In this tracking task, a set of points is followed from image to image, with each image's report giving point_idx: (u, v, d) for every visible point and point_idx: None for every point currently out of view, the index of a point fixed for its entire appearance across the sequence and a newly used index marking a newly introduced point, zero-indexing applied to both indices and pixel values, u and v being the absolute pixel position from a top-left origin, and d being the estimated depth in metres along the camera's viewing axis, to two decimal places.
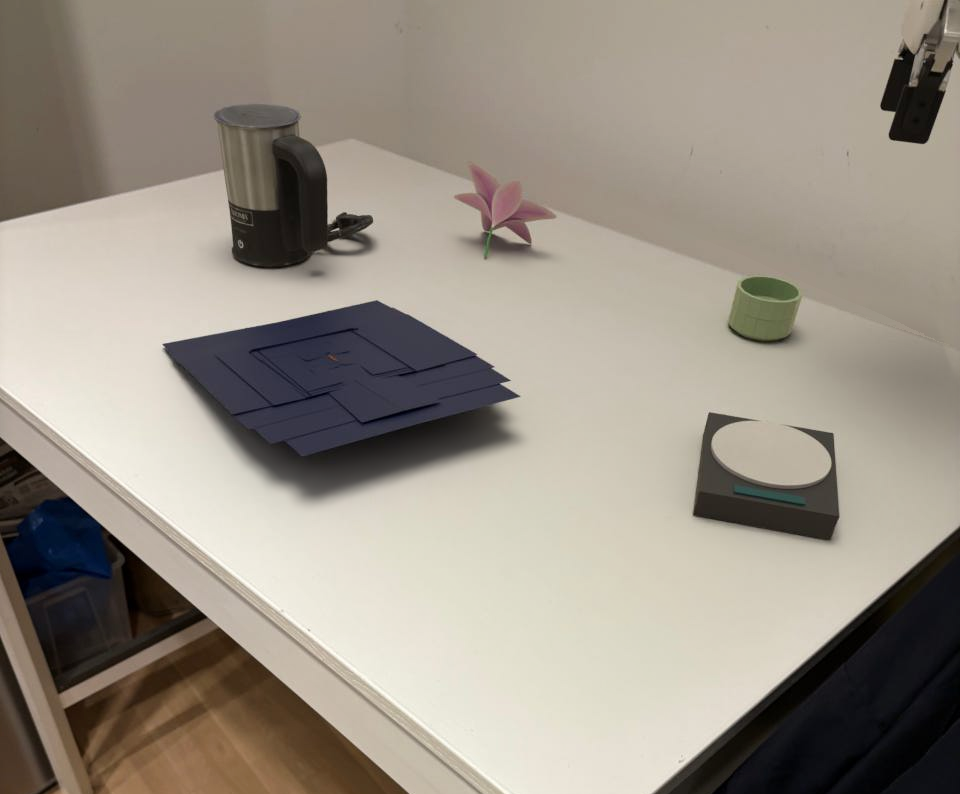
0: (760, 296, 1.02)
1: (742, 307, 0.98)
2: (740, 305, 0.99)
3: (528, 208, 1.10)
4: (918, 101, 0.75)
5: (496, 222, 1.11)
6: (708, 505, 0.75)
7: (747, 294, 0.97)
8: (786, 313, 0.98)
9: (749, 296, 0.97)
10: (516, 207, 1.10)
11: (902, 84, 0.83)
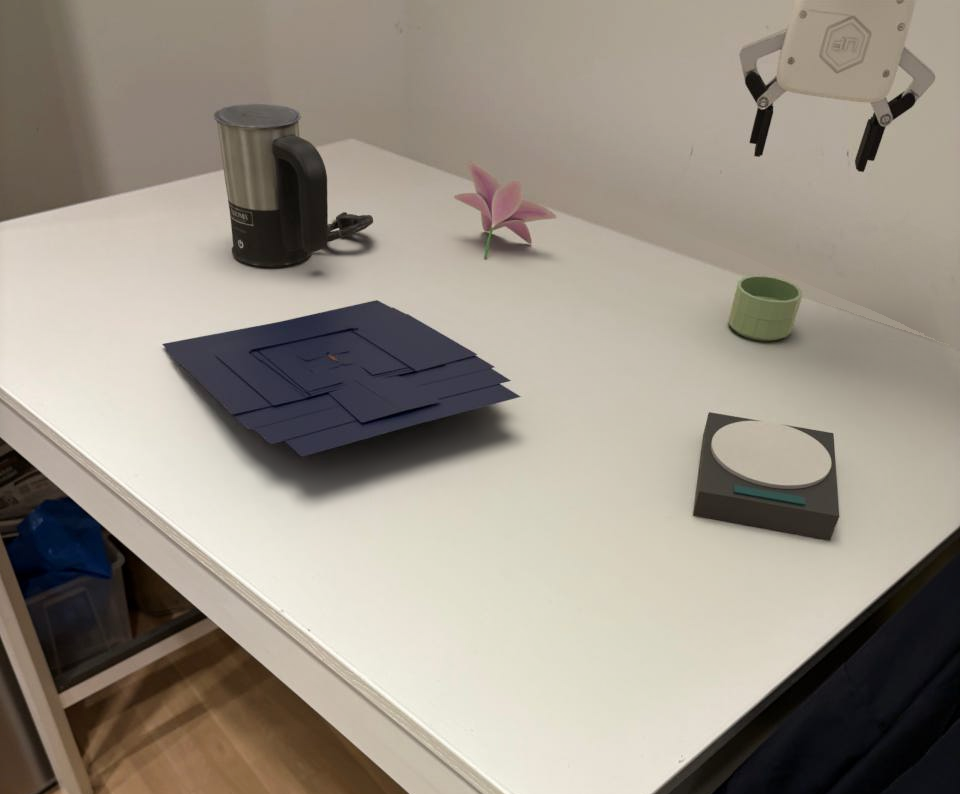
0: (760, 296, 1.02)
1: (742, 307, 0.98)
2: (740, 305, 0.99)
3: (528, 208, 1.10)
4: (756, 114, 0.88)
5: (496, 222, 1.11)
6: (708, 505, 0.75)
7: (747, 294, 0.97)
8: (786, 313, 0.98)
9: (749, 296, 0.97)
10: (516, 207, 1.10)
11: (863, 140, 0.88)
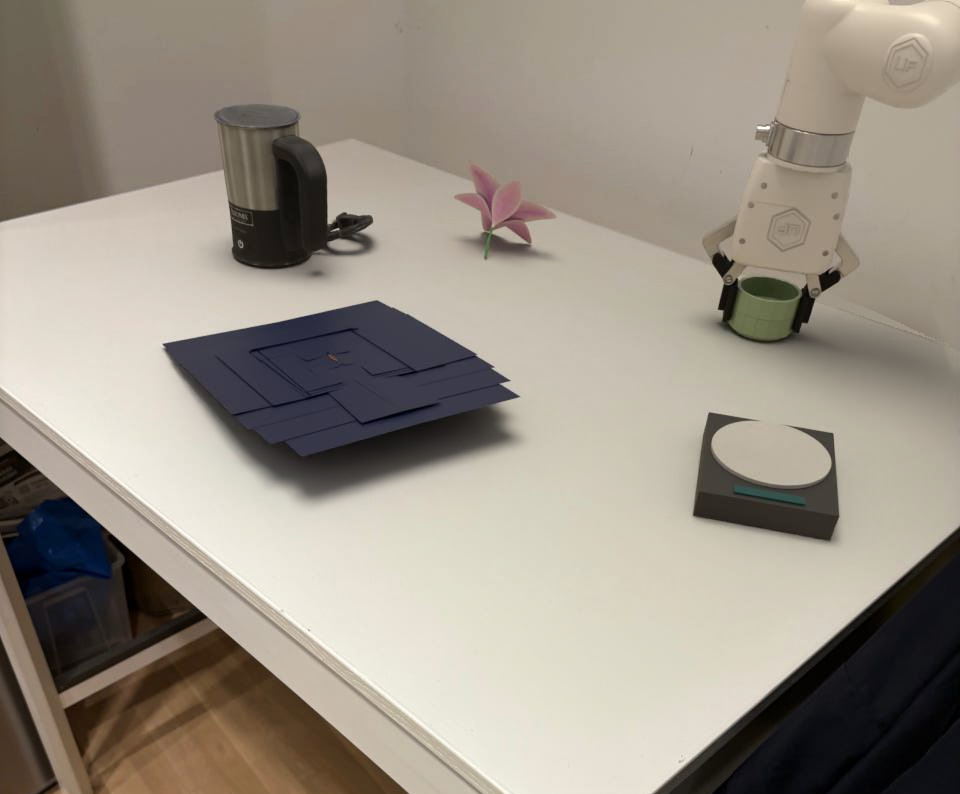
0: (760, 296, 1.02)
1: (742, 307, 0.98)
2: (740, 305, 0.99)
3: (528, 208, 1.10)
4: (723, 286, 1.00)
5: (496, 222, 1.11)
6: (708, 505, 0.75)
7: (747, 294, 0.97)
8: (786, 313, 0.98)
9: (749, 296, 0.97)
10: (516, 207, 1.10)
11: None
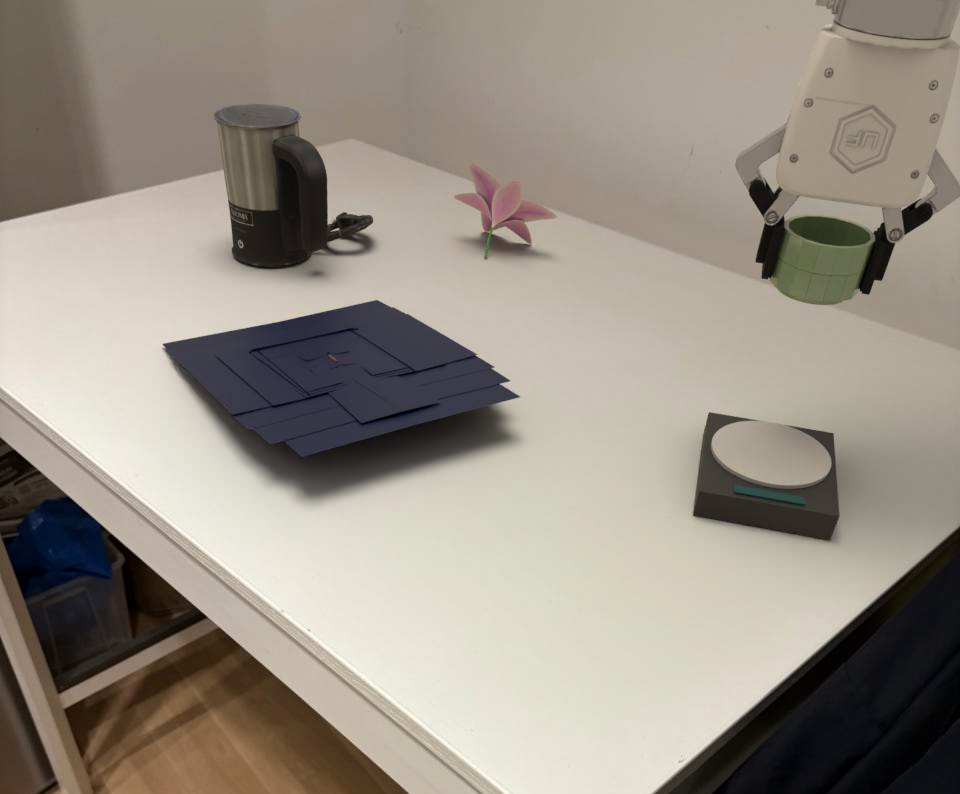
0: None
1: (791, 257, 0.70)
2: (788, 254, 0.70)
3: (528, 208, 1.10)
4: (763, 228, 0.72)
5: (496, 222, 1.11)
6: (708, 505, 0.75)
7: (798, 238, 0.69)
8: (854, 264, 0.69)
9: (802, 240, 0.69)
10: (516, 207, 1.10)
11: None
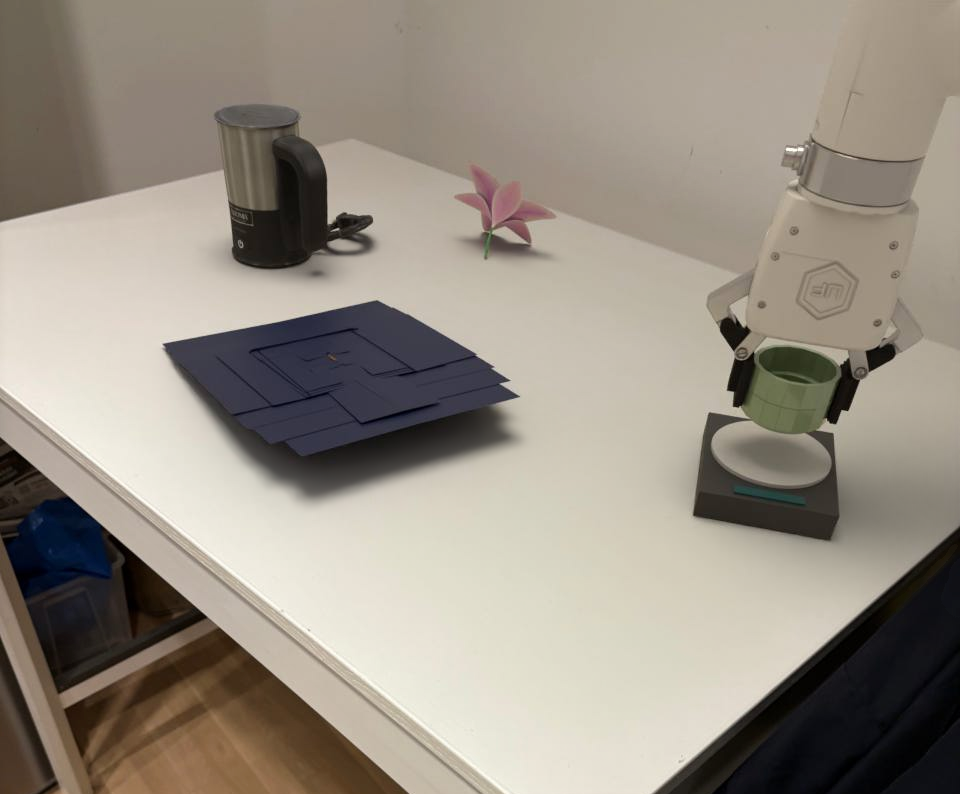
0: (783, 372, 0.76)
1: (760, 390, 0.73)
2: (757, 387, 0.73)
3: (528, 208, 1.10)
4: (734, 360, 0.74)
5: (496, 222, 1.11)
6: (708, 505, 0.75)
7: (767, 374, 0.72)
8: (821, 399, 0.72)
9: (771, 377, 0.71)
10: (516, 207, 1.10)
11: None
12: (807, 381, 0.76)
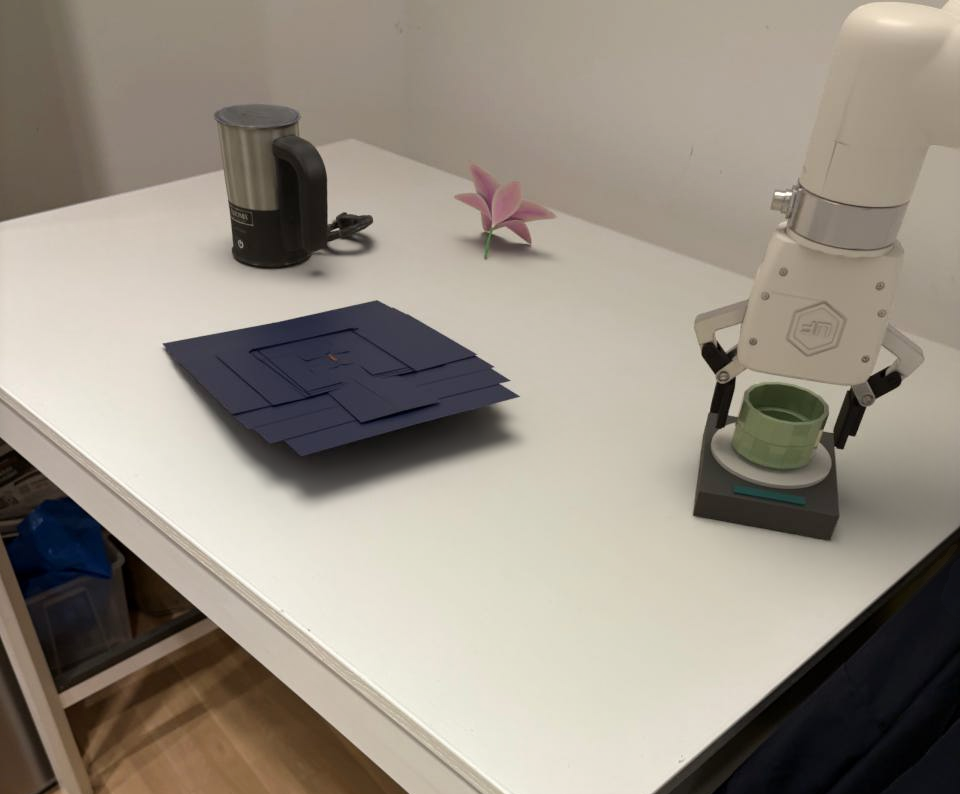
0: (773, 408, 0.79)
1: (750, 428, 0.75)
2: (747, 425, 0.75)
3: (528, 208, 1.10)
4: (716, 382, 0.76)
5: (496, 222, 1.11)
6: (708, 505, 0.75)
7: (757, 412, 0.74)
8: (809, 437, 0.74)
9: (760, 415, 0.74)
10: (516, 207, 1.10)
11: (841, 413, 0.75)
12: (796, 417, 0.78)
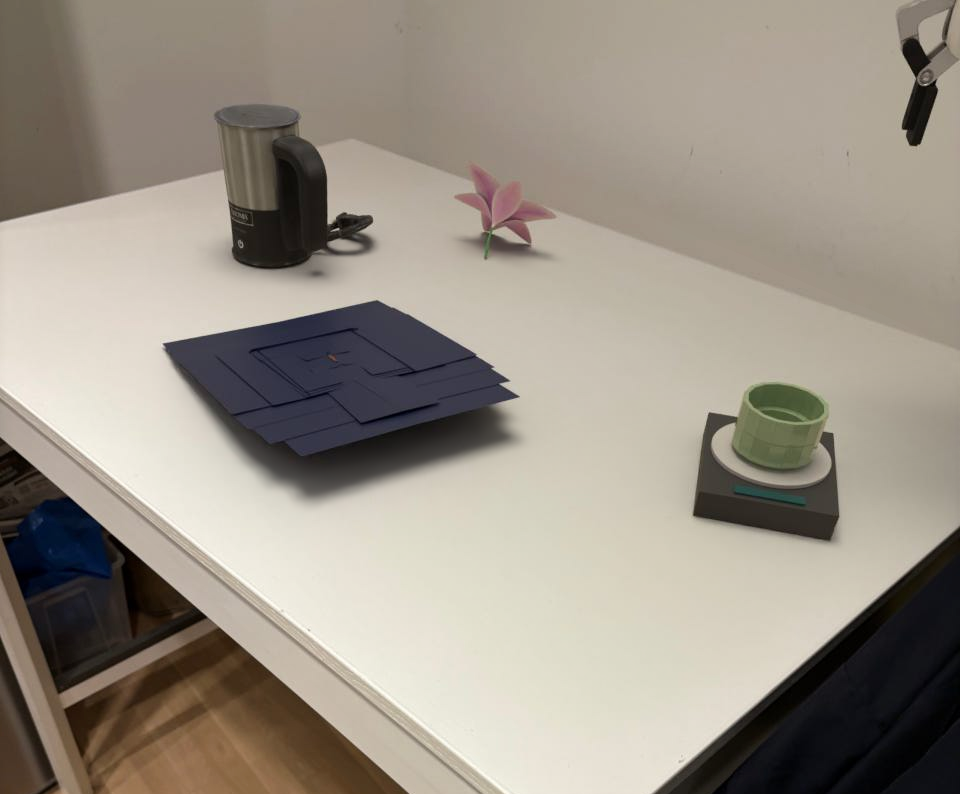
0: (773, 408, 0.79)
1: (750, 428, 0.75)
2: (747, 425, 0.75)
3: (528, 208, 1.10)
4: (912, 93, 0.70)
5: (496, 222, 1.11)
6: (708, 505, 0.75)
7: (757, 412, 0.74)
8: (809, 437, 0.74)
9: (760, 415, 0.74)
10: (516, 207, 1.10)
11: None
12: (796, 417, 0.78)
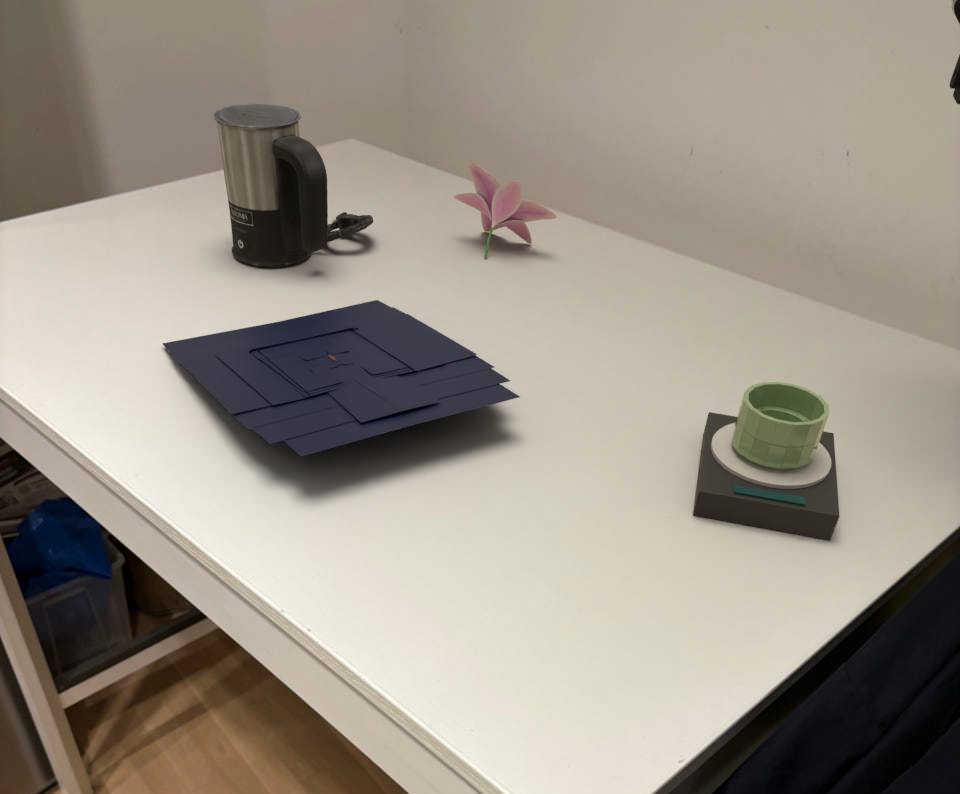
0: (773, 408, 0.79)
1: (750, 428, 0.75)
2: (747, 425, 0.75)
3: (528, 208, 1.10)
4: None
5: (496, 222, 1.11)
6: (708, 505, 0.75)
7: (757, 412, 0.74)
8: (809, 437, 0.74)
9: (760, 415, 0.74)
10: (516, 207, 1.10)
11: None
12: (796, 417, 0.78)
